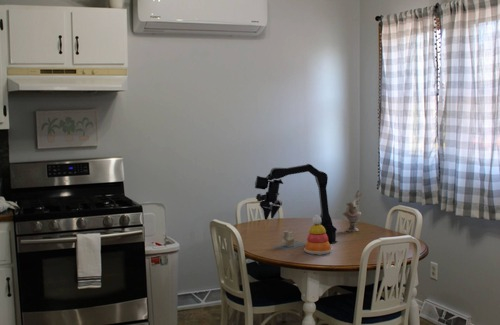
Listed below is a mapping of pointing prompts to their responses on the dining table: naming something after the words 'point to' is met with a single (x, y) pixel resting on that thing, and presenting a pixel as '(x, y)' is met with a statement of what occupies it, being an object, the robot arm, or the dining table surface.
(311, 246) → the stacking toy
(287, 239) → the block
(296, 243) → the mat
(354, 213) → the decorative bust
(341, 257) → the dining table surface
